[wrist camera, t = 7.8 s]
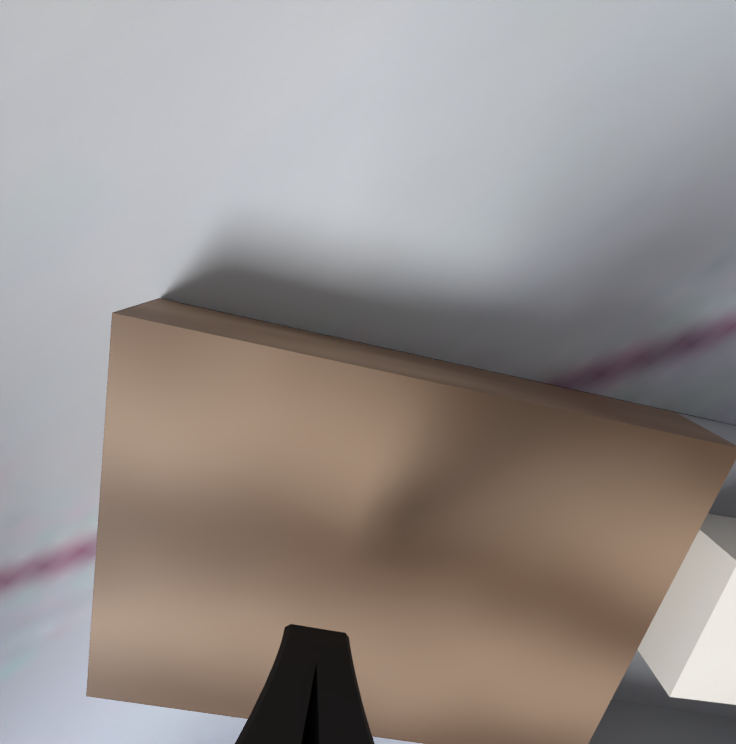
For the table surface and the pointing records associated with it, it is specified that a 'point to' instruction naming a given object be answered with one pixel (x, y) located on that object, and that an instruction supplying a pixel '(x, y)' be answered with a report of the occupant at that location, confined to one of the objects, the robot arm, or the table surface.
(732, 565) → the white square block
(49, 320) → the table surface
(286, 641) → the robot arm
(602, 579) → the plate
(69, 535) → the table surface
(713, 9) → the table surface
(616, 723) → the box
